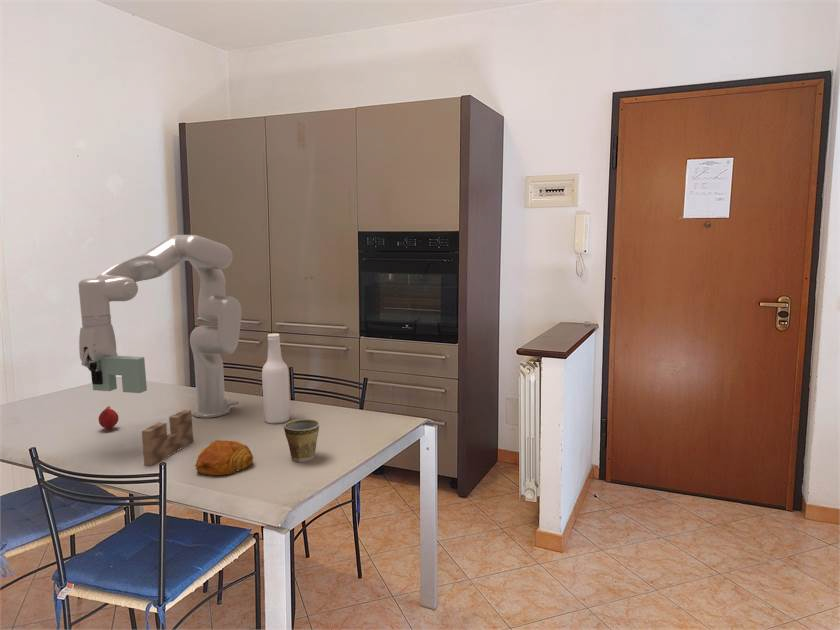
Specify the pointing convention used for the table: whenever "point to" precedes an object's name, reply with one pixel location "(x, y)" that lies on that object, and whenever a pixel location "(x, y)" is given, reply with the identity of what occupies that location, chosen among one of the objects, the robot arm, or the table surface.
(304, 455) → the ceramic cup
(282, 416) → the alcohol
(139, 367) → the green slotted plate
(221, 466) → the croissant
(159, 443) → the walnut slotted plate
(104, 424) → the onion
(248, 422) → the table surface
